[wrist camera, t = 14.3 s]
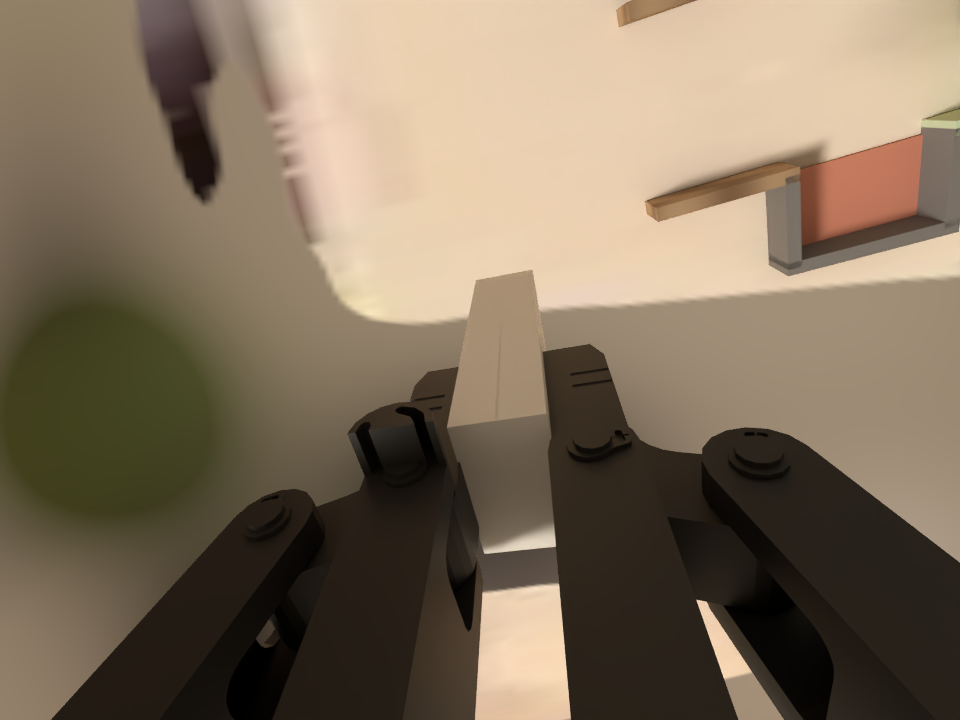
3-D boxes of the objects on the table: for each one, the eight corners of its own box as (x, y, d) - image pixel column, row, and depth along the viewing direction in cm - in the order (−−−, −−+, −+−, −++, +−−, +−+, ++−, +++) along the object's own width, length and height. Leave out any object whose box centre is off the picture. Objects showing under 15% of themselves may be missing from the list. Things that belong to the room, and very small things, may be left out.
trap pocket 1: (769, 265, 42) (788, 276, 39) (764, 172, 38) (785, 178, 36) (927, 223, 40) (958, 231, 37) (936, 122, 37) (971, 124, 34)
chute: (647, 213, 40) (658, 221, 37) (616, 10, 34) (627, 2, 31) (779, 175, 39) (800, 180, 36) (770, -45, 33) (796, -58, 30)
